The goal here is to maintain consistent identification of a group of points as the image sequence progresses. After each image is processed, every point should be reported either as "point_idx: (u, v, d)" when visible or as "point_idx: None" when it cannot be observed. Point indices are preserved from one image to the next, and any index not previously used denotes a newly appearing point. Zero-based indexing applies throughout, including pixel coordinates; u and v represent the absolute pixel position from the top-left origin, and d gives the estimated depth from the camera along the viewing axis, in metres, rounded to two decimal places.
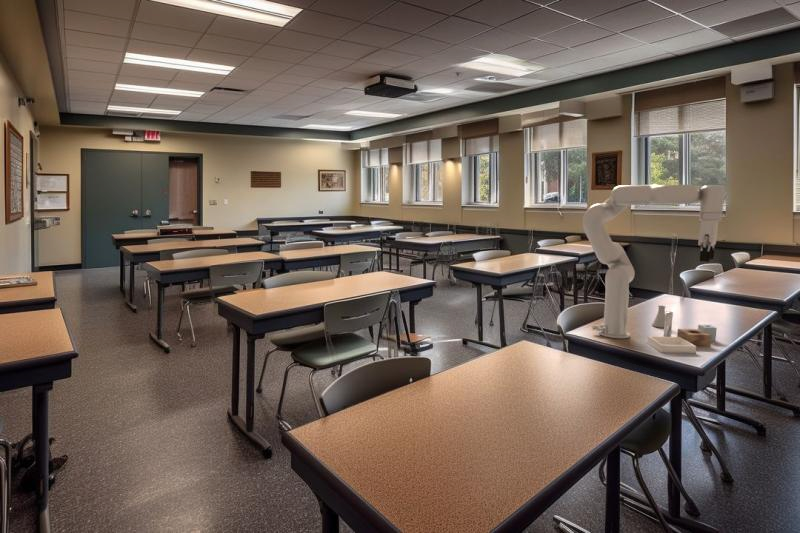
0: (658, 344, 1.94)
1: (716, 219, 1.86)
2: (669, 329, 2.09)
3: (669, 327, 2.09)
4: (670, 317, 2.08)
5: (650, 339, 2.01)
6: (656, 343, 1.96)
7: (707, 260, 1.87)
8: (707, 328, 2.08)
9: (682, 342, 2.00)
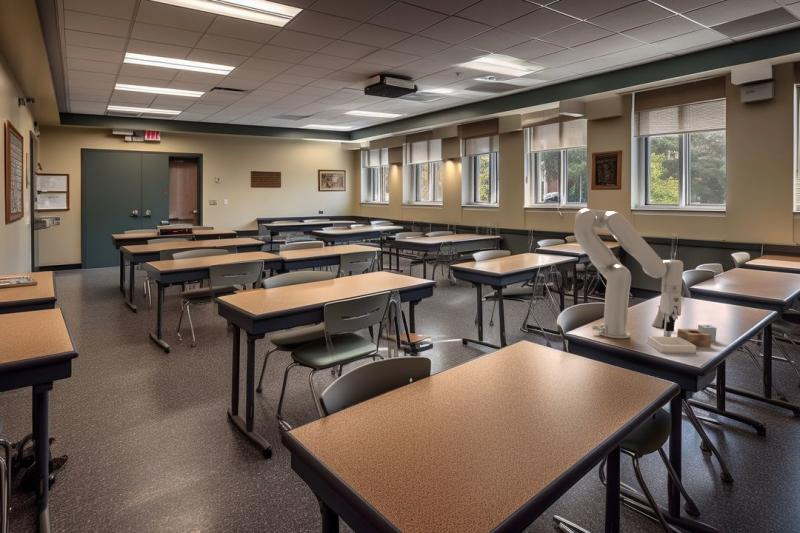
0: (658, 344, 1.94)
1: None
2: None
3: None
4: (670, 317, 2.08)
5: (650, 339, 2.01)
6: (656, 343, 1.96)
7: None
8: (707, 328, 2.08)
9: (682, 342, 2.00)
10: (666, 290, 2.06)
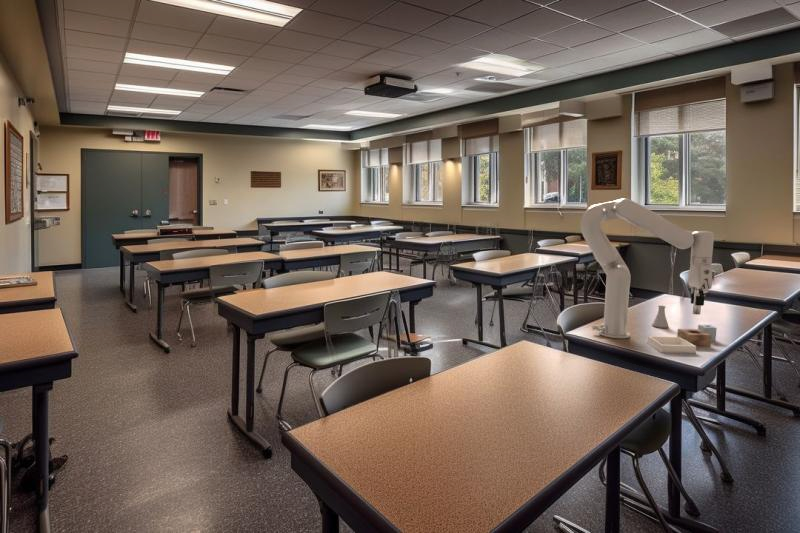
0: (658, 344, 1.94)
1: None
2: None
3: None
4: None
5: (650, 339, 2.01)
6: (656, 343, 1.96)
7: None
8: (707, 328, 2.08)
9: (682, 342, 2.00)
10: (696, 262, 1.98)
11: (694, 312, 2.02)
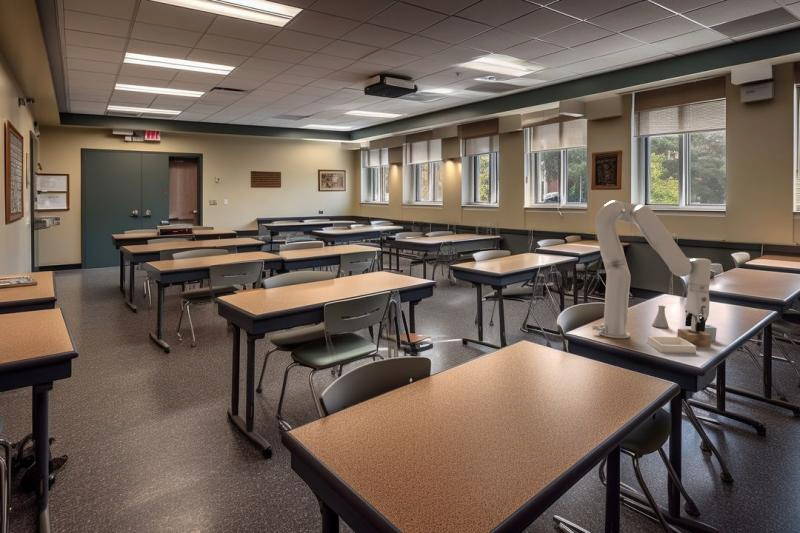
0: (658, 344, 1.94)
1: None
2: None
3: (696, 331, 2.02)
4: (697, 321, 2.02)
5: (650, 339, 2.01)
6: (656, 343, 1.96)
7: None
8: (707, 328, 2.08)
9: (682, 342, 2.00)
10: (693, 290, 1.99)
11: None
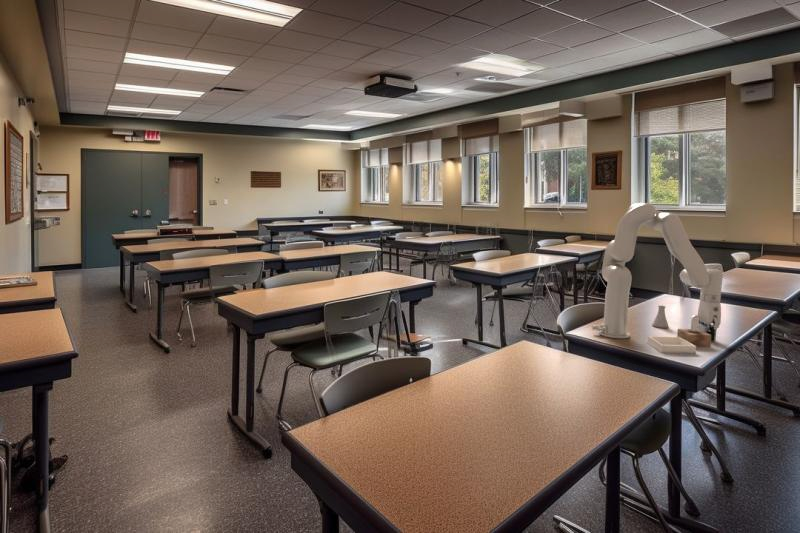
0: (658, 344, 1.94)
1: None
2: None
3: (695, 331, 2.02)
4: (697, 321, 2.02)
5: (650, 339, 2.01)
6: (656, 343, 1.96)
7: None
8: (707, 328, 2.08)
9: (682, 342, 2.00)
10: (705, 299, 2.06)
11: None
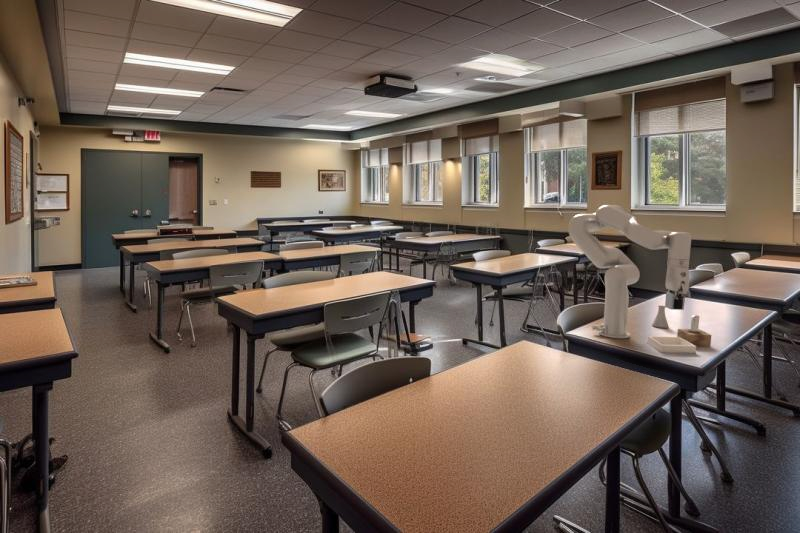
0: (658, 344, 1.94)
1: None
2: None
3: (695, 331, 2.02)
4: (697, 321, 2.02)
5: (650, 339, 2.01)
6: (656, 343, 1.96)
7: None
8: None
9: (682, 342, 2.00)
10: (673, 264, 1.91)
11: None
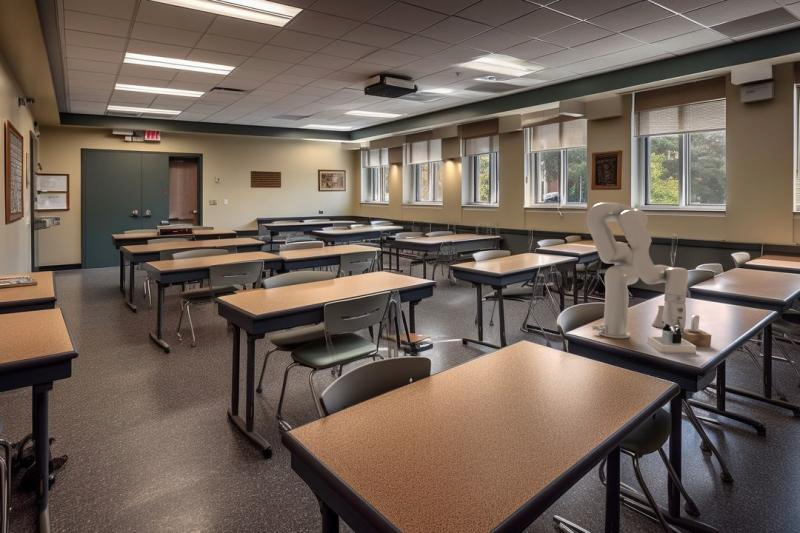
0: (658, 344, 1.94)
1: None
2: None
3: (695, 331, 2.02)
4: (697, 321, 2.02)
5: (650, 339, 2.01)
6: (656, 343, 1.96)
7: None
8: (671, 335, 1.94)
9: (682, 342, 2.00)
10: (669, 300, 1.93)
11: None
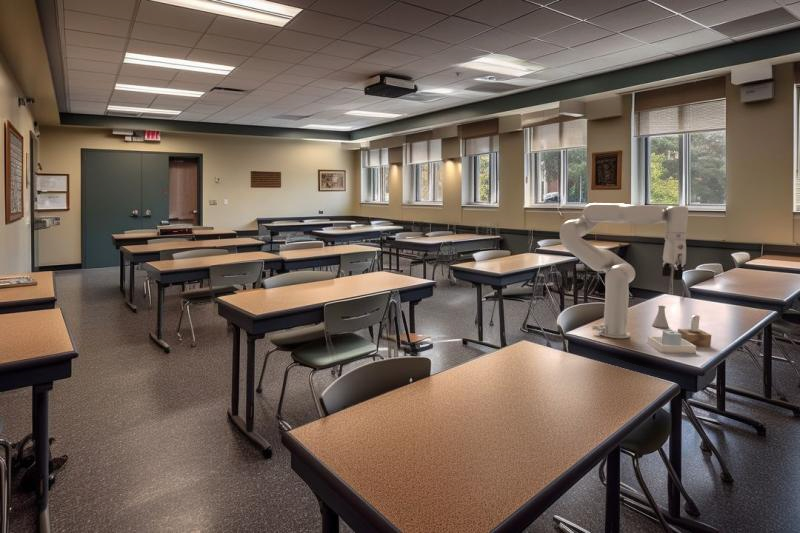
0: (658, 344, 1.94)
1: None
2: None
3: (696, 331, 2.02)
4: (697, 321, 2.02)
5: (650, 339, 2.01)
6: (656, 343, 1.96)
7: None
8: (671, 335, 1.94)
9: (682, 342, 2.00)
10: (670, 238, 1.95)
11: None
